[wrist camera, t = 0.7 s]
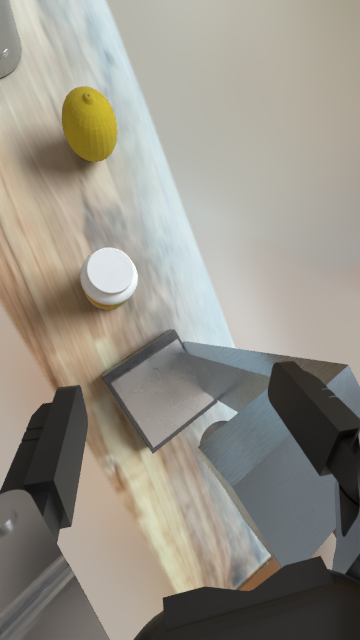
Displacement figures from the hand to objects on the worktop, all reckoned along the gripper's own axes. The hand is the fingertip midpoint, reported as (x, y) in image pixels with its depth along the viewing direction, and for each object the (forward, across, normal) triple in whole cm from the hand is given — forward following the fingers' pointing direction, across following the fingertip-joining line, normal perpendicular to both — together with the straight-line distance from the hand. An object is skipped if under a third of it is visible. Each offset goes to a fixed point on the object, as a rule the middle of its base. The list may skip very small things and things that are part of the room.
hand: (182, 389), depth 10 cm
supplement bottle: (+23, +5, +3) cm, 23 cm away
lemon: (+30, +6, -11) cm, 33 cm away
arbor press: (+16, -2, +16) cm, 23 cm away
